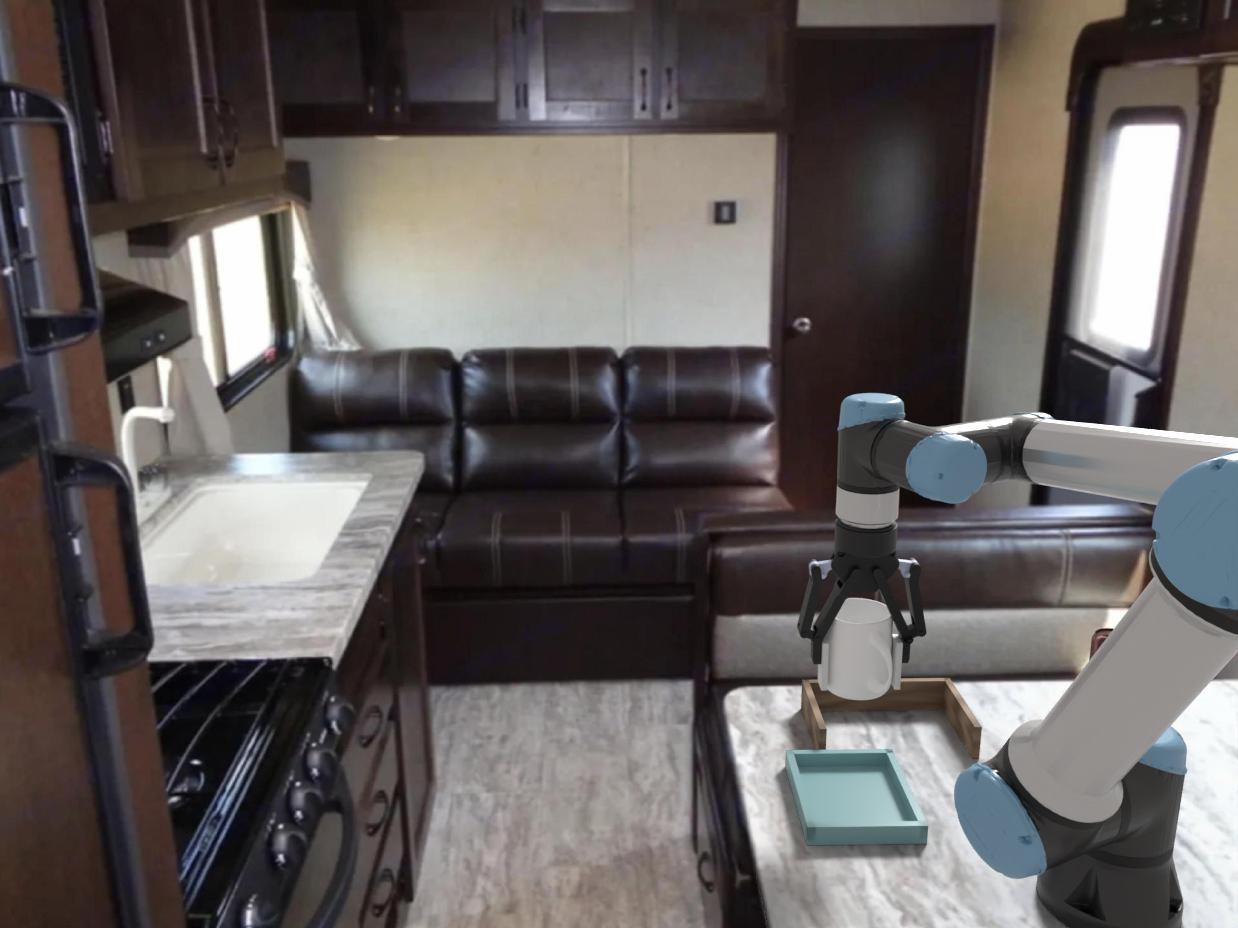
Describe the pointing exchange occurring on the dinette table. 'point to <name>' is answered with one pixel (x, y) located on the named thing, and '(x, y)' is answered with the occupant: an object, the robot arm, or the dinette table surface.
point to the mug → (860, 650)
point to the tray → (854, 798)
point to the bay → (895, 707)
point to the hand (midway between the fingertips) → (858, 684)
